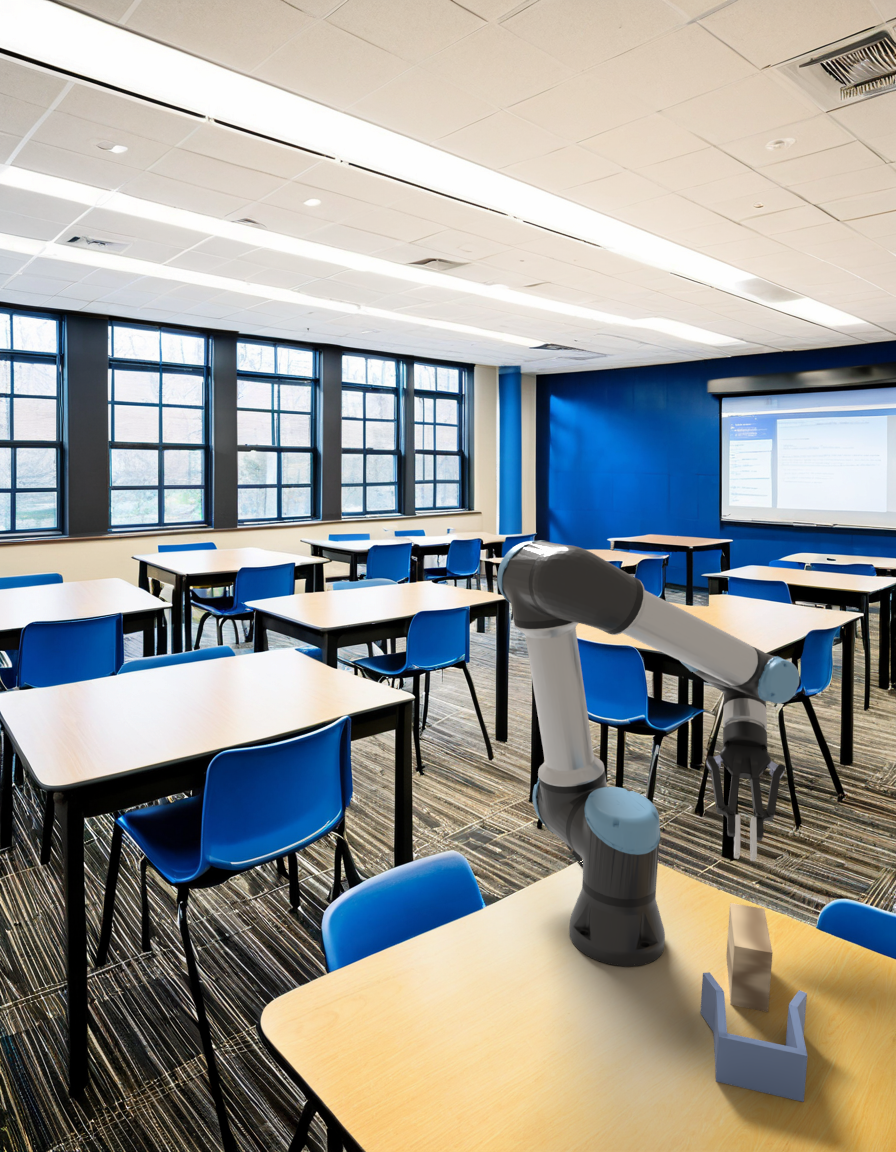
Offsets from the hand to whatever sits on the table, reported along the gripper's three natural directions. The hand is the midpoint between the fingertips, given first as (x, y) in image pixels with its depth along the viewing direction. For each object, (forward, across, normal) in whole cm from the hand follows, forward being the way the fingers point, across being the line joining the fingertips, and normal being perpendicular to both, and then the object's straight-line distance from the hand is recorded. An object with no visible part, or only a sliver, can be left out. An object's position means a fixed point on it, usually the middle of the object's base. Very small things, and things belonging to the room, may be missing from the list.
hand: (745, 856), depth 126 cm
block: (+19, 0, +1) cm, 19 cm away
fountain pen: (-2, +29, -21) cm, 36 cm away
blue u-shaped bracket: (+30, 0, +12) cm, 32 cm away
